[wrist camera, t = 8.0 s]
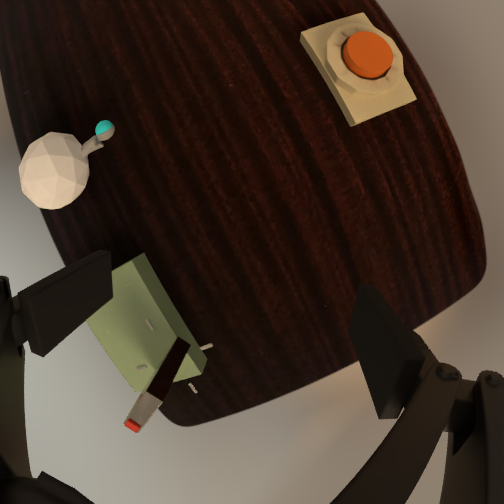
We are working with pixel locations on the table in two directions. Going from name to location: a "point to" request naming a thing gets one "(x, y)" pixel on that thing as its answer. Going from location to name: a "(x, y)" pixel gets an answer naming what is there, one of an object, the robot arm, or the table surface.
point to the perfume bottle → (59, 167)
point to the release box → (349, 83)
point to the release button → (367, 54)
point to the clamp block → (143, 326)
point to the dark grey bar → (157, 386)
